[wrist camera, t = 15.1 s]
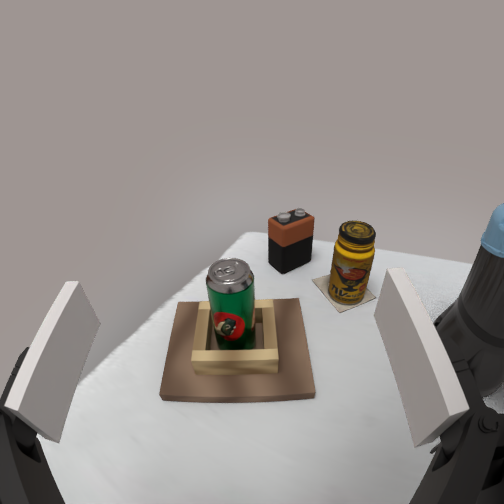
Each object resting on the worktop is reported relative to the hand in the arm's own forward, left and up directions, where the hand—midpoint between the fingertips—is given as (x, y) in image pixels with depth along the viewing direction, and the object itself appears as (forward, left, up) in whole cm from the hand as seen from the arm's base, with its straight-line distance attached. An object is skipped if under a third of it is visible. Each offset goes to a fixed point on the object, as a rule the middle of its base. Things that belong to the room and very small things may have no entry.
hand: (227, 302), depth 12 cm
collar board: (+1, -16, -24) cm, 29 cm away
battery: (-8, -35, -24) cm, 43 cm away
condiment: (-16, -27, -24) cm, 39 cm away
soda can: (+1, -16, -23) cm, 28 cm away
